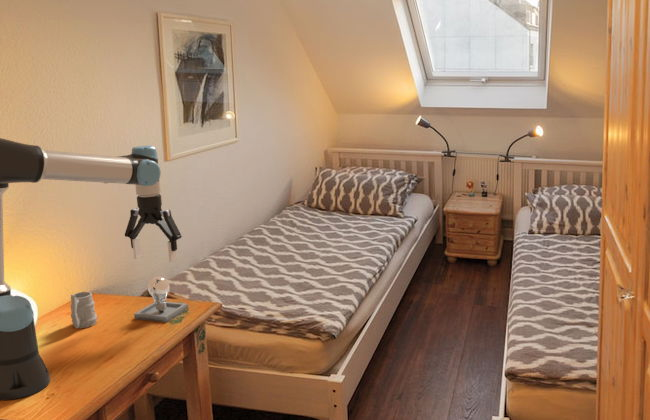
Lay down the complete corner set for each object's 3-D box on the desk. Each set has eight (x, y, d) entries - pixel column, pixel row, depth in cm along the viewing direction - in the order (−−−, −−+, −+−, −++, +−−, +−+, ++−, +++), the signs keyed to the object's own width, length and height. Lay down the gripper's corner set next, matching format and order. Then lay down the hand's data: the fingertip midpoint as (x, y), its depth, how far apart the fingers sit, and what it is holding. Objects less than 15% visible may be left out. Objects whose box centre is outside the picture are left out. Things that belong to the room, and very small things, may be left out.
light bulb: (165, 306, 234) (161, 272, 231) (176, 310, 229) (172, 276, 226) (146, 312, 230) (142, 277, 227) (157, 317, 225) (153, 281, 222)
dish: (166, 322, 222) (166, 317, 221) (134, 318, 226) (134, 313, 226) (188, 308, 233) (187, 303, 232) (157, 305, 237) (156, 300, 237)
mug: (101, 319, 228) (96, 284, 225) (87, 333, 216) (82, 296, 214) (78, 319, 228) (73, 284, 226) (63, 333, 217) (58, 297, 214)
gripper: (188, 193, 219) (194, 258, 224) (124, 191, 229) (130, 253, 233) (175, 198, 213) (181, 265, 217) (109, 195, 222) (116, 259, 227)
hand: (155, 259), depth 225 cm, fingers open, 13 cm apart
